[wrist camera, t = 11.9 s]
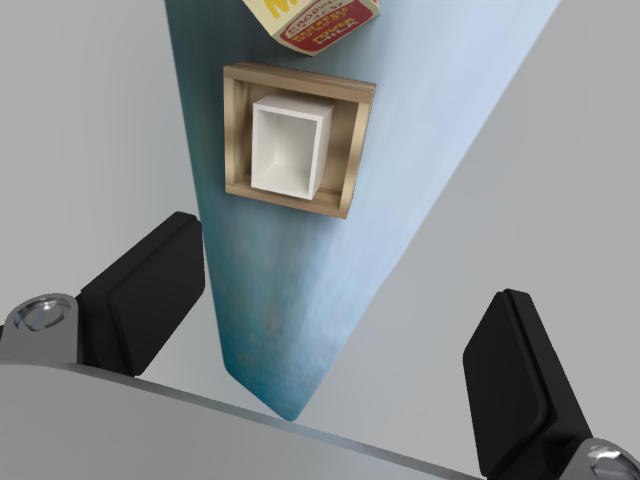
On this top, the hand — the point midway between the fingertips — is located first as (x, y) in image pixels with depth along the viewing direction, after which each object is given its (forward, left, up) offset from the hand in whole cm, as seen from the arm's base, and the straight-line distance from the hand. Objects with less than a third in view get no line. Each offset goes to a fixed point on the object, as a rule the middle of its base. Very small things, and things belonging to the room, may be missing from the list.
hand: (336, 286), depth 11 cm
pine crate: (+6, -9, -33) cm, 35 cm away
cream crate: (+6, -9, -32) cm, 34 cm away
